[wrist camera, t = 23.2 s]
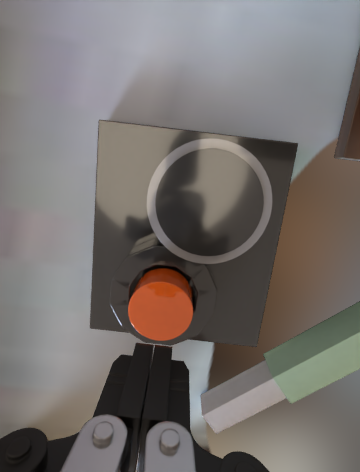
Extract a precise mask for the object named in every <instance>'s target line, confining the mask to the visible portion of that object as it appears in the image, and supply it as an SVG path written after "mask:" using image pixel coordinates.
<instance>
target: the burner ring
mask: <svg viewBox="0 0 360 472" xmlns="http://www.w3.org/2000/svg"><path fill="white" fill-rule="evenodd" d="M271 210H272V190H271V185H270V181H269V178H268V176H267V174H266V171H265V170H264V168H263V166H262V165H261V163H260V162H259V161H258V160H257V158H256V157H255V156H254V155H252V154H251V153H250V152H249V151H248V150H246V149H245V148H243V147H242V146H240V145H238V144H236V143H233V142H230V141H227V140H222V139H212V138H209V139H200V140H195V141H191V142H189V143H186V144H184V145H182V146H180V147H178V148H176V149H175V150H174V151H172V152H171V153H170V154H169V155H168V156H166V157H165V158H164V159H163V161H162V162H161V163H160V164H159V166H158V167H157V169H156V170H155V172H154V174H153V176H152V178H151V181H150V184H149V187H148V192H147V213H148V217H149V221H150V224H151V227H152V229H153V231H154V233H155V234H156V236H157V238H158V239H159V240H160V242H161V243H162V244H163V245H164V246H165V247H166V248H167V249H168V250H170V251H171V252H172V253H174V254H175V255H177V256H179V257H181V258H183V259H185V260H188V261H191V262H195V263H201V264H215V263H221V262H225V261H228V260H231V259H234V258H236V257H238V256H240V255H241V254H243V253H244V252H246V251H247V250H248V249H250V248H251V247H252V246H253V245H254V244H255V243H256V242H257V241H258V239H259V238H260V237H261V235H262V234H263V232H264V230H265V228H266V226H267V224H268V221H269V219H270V215H271Z"/></svg>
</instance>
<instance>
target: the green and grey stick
mask: <svg viewBox="0 0 360 472" xmlns="http://www.w3.org/2000/svg"><path fill="white" fill-rule="evenodd" d="M263 355H264V358H265V360H264V361H262V362H261V363H259V364H257V365H255V366H253V367H251V368H250V369H248V370H246V371H244V372H242V373H240V374H238V375H237V376H235V377H233V378H231V379H229V380H227V381H226V382H224V383H222V384H220V385H218V386H216V387H214V388H213V389H211V390H209V391H207V392H205V393H203V394H201V406H202V416H203V418H204V419H205V420H206V421H207V423H208V424H209V425H210V426H211V428H212V429H213V430H214V432H215V433H219V432H221V431H223V430H225V429H227V428H229V427H231V426H233V425H235V424H237V423H239V422H241V421H243V420H244V419H247V418H249V417H250V416H252V415H254V414H256V413H258V412H260V411H262V410H264V409H266V408H268V407H270V406H272V405H274V404H276V403H278V402H280V401H282V400H284V399H286V398H287V399H288V401H289V402H290V403H291V404H292V403H294V402H296V401H298V400H300V399H302V398H304V397H306V396H307V395H310V394H311V393H313V392H315V391H317V390H319V389H321V388H323V387H325V386H327V385H329V384H331V383H333V382H335V381H337V380H339V379H341V378H343V377H345V376H347V375H349V374H351V373H353V372H355V371H357V370H359V369H360V302H358V303H356V304H354V305H352V306H350V307H349V308H347V309H345V310H343V311H341V312H340V313H338V314H336V315H334V316H332V317H330V318H328V319H327V320H325V321H323V322H321V323H319V324H318V325H316V326H314V327H312V328H310V329H308V330H306V331H305V332H303V333H301V334H299V335H297V336H296V337H294V338H292V339H290V340H288V341H286V342H285V343H283V344H281V345H279V346H277V347H275V348H273V349H272V350H270V351H268V352H266V353H264V354H263Z"/></svg>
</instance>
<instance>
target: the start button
mask: <svg viewBox="0 0 360 472" xmlns="http://www.w3.org/2000/svg"><path fill="white" fill-rule="evenodd" d="M128 314H129V319H130V321H131V323H132V325H133V327H134V328H135V329H136V330H137V331H138V332H139V333H140V334H141V335H143V336H145V337H147V338H149V339H152V340H158V341H165V340H170V339H174V338H176V337H178V336H180V335H181V334H182V333H184V332H185V331H186V329H187V328H188V327H189V325H190V323H191V321H192V318H193V298H192V289H191V286H190V284H189V282H188V281H187V279H186V278H185V277H184V276H183V275H182V274H180V273H179V272H177V271H175V270H172V269H167V268H158V269H154V270H151V271H149V272H147V273H146V274H144V275H143V276H142V277H141V278H140V279H139V281H138V282H137V285H136V287H135V289H134V292H133V294H132V297H131V299H130V302H129V306H128Z"/></svg>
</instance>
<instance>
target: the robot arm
mask: <svg viewBox="0 0 360 472" xmlns="http://www.w3.org/2000/svg"><path fill="white" fill-rule="evenodd" d="M153 348H154V345H150V344H141V343H136V345H135V349H134V353H133V356H130V355H120V356H119V357H118V358H117V359H116V360H115V361H114V362H113V364H112V367H111V369H110V372H109V375H108V378H107V380H106V383H105V386H104V388H103V391H102V394H101V396H100V399H99V402H98V404H97V407H96V410H95V412H94V415H93V417H92V419H90V420H89V421H88V422H86V423H85V424H84V426H83V427H82V428H81V430H80V432H78V433H76V434H74V435H72V436H70V437H66V438H61V439H56V440H51V441H47V437H46V435H45V434H44V433H43V432H42V431H40V430H38V429H35V428H24V429H20V430H16V431H14V432H12V433H10V434H8V435H6V436H5V437H3V438H1V439H0V472H135V471H136V465H137V459H138V468H137V472H269V471H268V470H267V469H266V468H265V466H264V465H263V464H262V463H261V462H260V461H259V460H257V459H256V458H255V457H253V456H252V455H250V454H247V453H244V452H231V453H229V454H227V455H226V456H225V457H224V458H223V459H221V458H219V457H217V456H215V455H212V454H210V453H208V452H206V451H205V450H203V449H202V448H201V447H200V446H199V445H198V444H197V443H196V442H195V440H194V438H193V436H192V434H191V430H190V399H189V370H188V368H187V366H186V365H185V363H184V361H176V360H171V357H172V347H169V346H160V345H155V348H154V354H153ZM152 357H153V360H152ZM139 447H140V448H139ZM138 453H139V458H138Z"/></svg>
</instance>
